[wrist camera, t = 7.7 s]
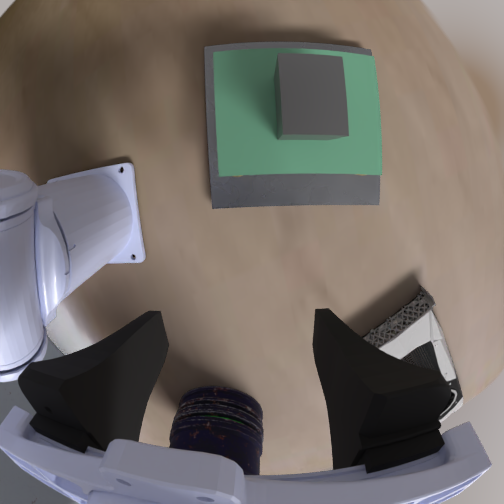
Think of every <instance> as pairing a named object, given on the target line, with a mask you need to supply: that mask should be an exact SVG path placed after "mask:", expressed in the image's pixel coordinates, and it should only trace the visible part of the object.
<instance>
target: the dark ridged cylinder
mask: <svg viewBox="0 0 504 504" xmlns="http://www.w3.org/2000/svg"><path fill="white" fill-rule="evenodd" d="M262 419H263V411H262V408H261V406H260V405H259V403H258V402H257V401H256V400H255V399H253V398H252V397H251V396H249V395H247V394H245V393H243V392H241V391H238V390H235V389H231V388H227V387H220V386H205V387H199V388H195V389H193V390H190V391H188V392H187V393H185V394H184V396H183V397H182V398H181V400H180V404H179V409H178V411H177V413H176V415H175V417H174V420H173V424H172V429H171V432H170V438H169V440H170V447H169V448H174V449H181V450H189V451H197V452H205V453H210V454H215V455H221V456H223V457H225V458H228V459H230V460H233V461H234V462H236V463H237V464H238V465H239V466H240V467H241V469H242V470H243V473H244V475H259V473H260V456H261V455H262V448H263V447H262V443H263V427H262Z"/></svg>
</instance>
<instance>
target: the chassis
mask: <svg viewBox="0 0 504 504" xmlns="http://www.w3.org/2000/svg"><path fill="white" fill-rule="evenodd" d="M263 48H297V49H317V50H329V51H339V52H348V53H355V54H362V55H368V56H372V52H371V50H370V49H364V48H358V47H351V46H343V45H334V44H324V43H309V42H248V43H234V44H223V45H214V46H206V47H204V56H205V92H206V116H207V136H208V154H209V169H210V184H211V197H212V209H217V208H236V207H259V206H290V205H379V199H380V175H365V174H321V173H305V174H261V175H239V176H223V177H219V169H218V153H217V135H216V115H215V92H214V63H213V52H219V51H229V50H242V49H263Z"/></svg>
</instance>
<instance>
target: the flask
mask: <svg viewBox="0 0 504 504" xmlns="http://www.w3.org/2000/svg"><path fill="white" fill-rule="evenodd" d="M47 338H48V345H47V350H46V354H45V356H44V358H43V360H49V359H54V358H58V357H62V356H64V355H63V353H62V352H61V351H60V350H59V349H58V348H57V347H56V346H55V345H54V343H53V342H52V341H51V340H50V339H49V337H48V336H47ZM43 360H42V361H43ZM14 406H17V407H19V408H21V409H23V410H25V411H27V412H28V413H30V414H31V415H32V416H33V417H34V415H35V414H36V411H35V410H34V409H33V407H32V406H31V404H30V403H29V402H28V400H27V399H26V397H25V396H24V394H23V393H22V391H21V389H20V387H19V384H18V379H17V380H14V381H9V382H0V425H1V423H2V422H3V421H4V419H5V418H6V416H7V415H8V414H9V412H10V411H11V409H12V408H13V407H14ZM0 504H80V503H78V502H76V501H74V500H72V499H70V498H68V497H66V496H65V495H63V494H61V493H59V492H58V491H56V490H54V489H53V488H51V487H49V486H48V485H46V484H44V483H43V482H41V481H40V480H38V479H36V478H35V477H33V476H32V475H30V474H29V473H27V472H26V471H24V470H23V469H21V468H20V467H19V466H18V465H17V464H16V463H15V462H14V461H13V460H12V459H11V458H10V457H9V456H8V455H7V454H6V453H5V452H4V451H3V450H2V449H1V448H0Z"/></svg>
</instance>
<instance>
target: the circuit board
mask: <svg viewBox="0 0 504 504" xmlns="http://www.w3.org/2000/svg"><path fill="white" fill-rule="evenodd" d="M213 63H214V92H215V115H216V135H217V153H218V169H219V177H223V176H239V175H261V174H305V173H321V174H365V175H382V138H381V118H380V104H379V93H378V83H377V75H376V67H375V60H374V56H368V55H362V54H355V53H348V52H339V51H329V50H317V49H297V48H263V49H242V50H229V51H219V52H213Z"/></svg>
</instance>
